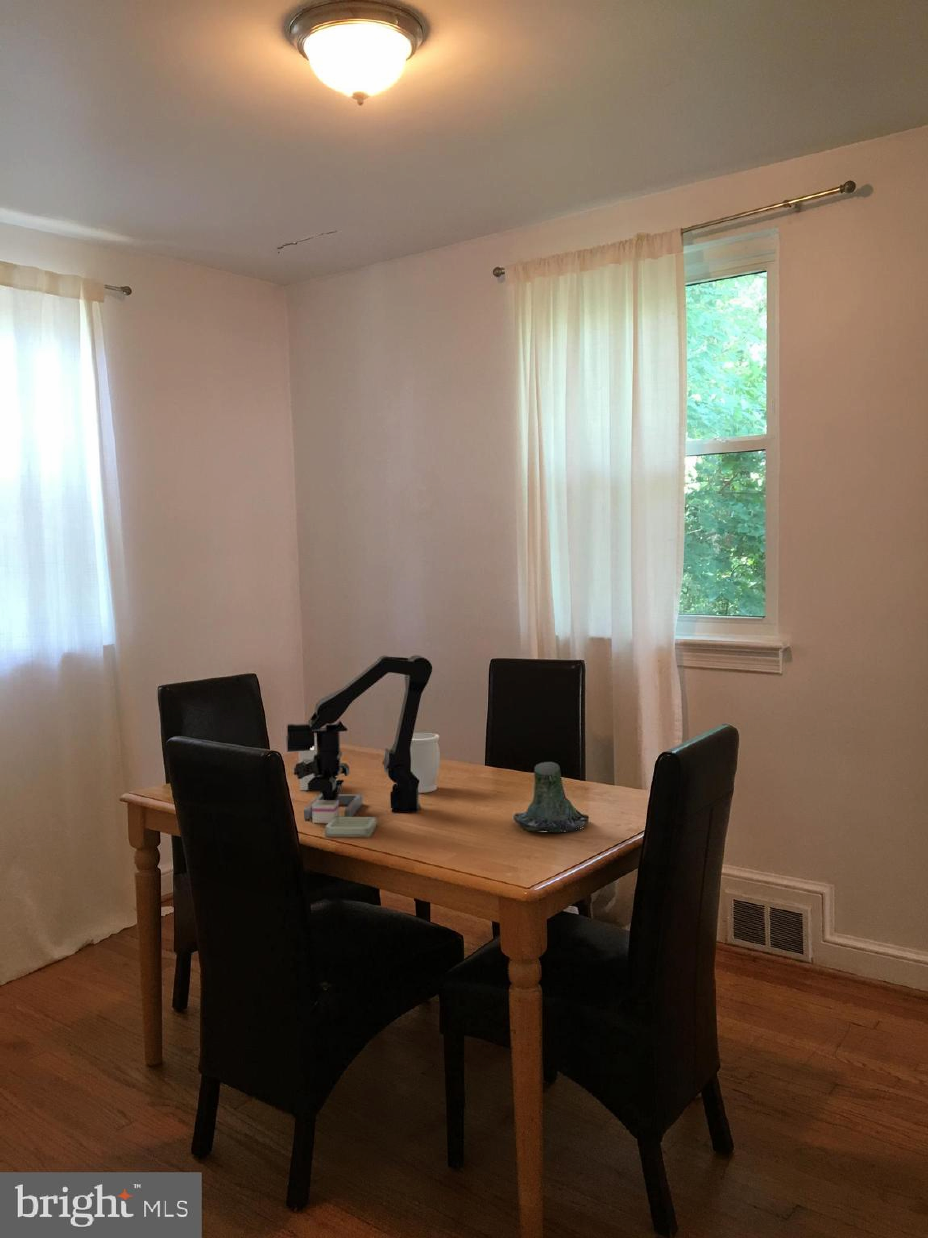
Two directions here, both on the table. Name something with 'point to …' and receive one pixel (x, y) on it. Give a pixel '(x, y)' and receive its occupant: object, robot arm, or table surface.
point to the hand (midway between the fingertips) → (330, 810)
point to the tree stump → (550, 804)
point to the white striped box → (325, 810)
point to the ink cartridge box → (305, 757)
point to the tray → (350, 827)
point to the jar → (425, 760)
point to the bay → (344, 799)
